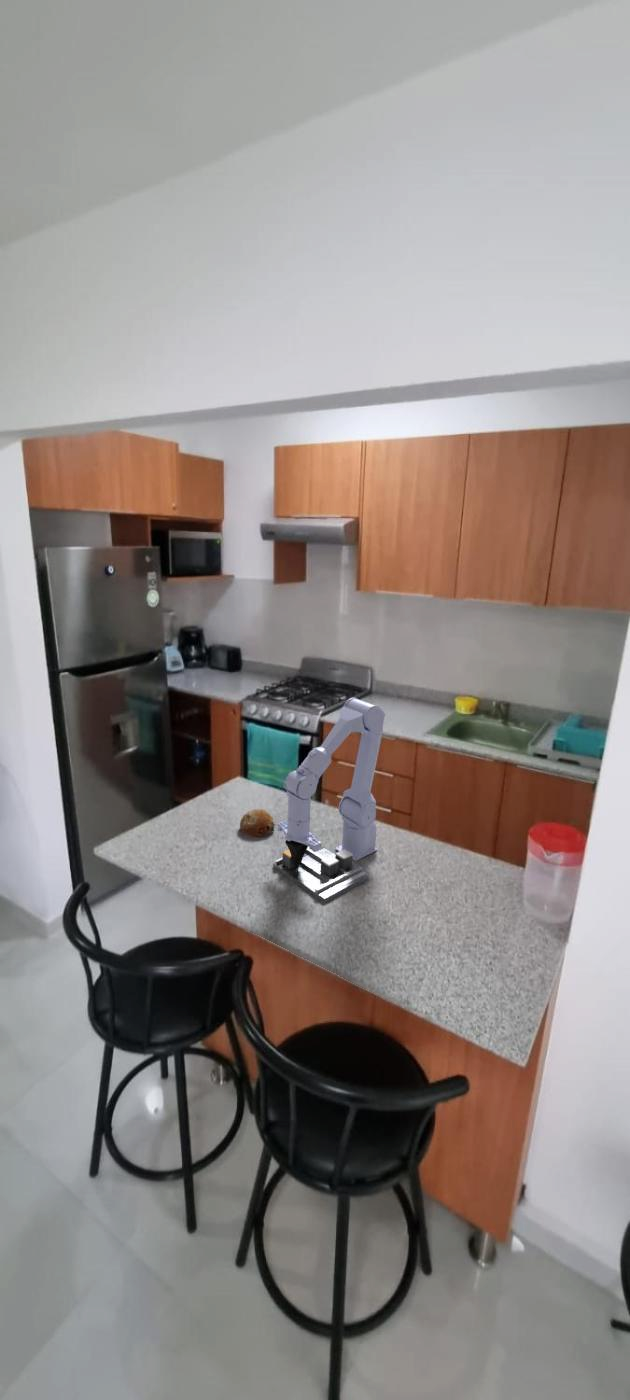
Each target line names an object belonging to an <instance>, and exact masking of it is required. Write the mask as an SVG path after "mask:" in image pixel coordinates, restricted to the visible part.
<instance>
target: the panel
mask: <svg viewBox="0 0 630 1400" xmlns="http://www.w3.org/2000/svg"><path fill="white" fill-rule="evenodd" d="M319 842H320V850H318V851H316V852H313V851H312V849H311V848H310V847H308V848H307V849H306V851H305V853H304V856H303V859H302V862H301V864H300V865H298V866H295V867H293V868H291V869H289V868H287V867H286V866H285V865H283V864H282V862H283V856H282V857H280V858H278V859H275V860H274V862H272V867H273V868H274V869H275V870H277V871H278V872H279V873H281V874H282V875H283V876H285V877H287V878H288V879H290V880H291V882H294V883H295V884H297V886H299V887H301V888H302V889H303V890H305V891H306V892H308V893H309V894H311V895H312V896H313V897H315V898H316V899H318V900H319V901H320V902H322V903H323V904H325V903H327V902H329V901H330V900H332V899H335V898H336V897H339V896H340V895H342V894H344V893H346V892H347V891H348V892H349V890H351V889H353V888H355V887H357V886H359V885H360V884H362V883H365V882H366V881H368V880H369V879H370V874H368V873H367V872H365V871H364V870H363V867H362V866H361V865H359V866H355V865H354V864H352V866H351V867H349V868H347V869H345V870H344V869H342V868H340V867H339V866H338V873H337V874H335V875H333V876H331V877H328V876H327V875H325V874H324V873H322V872H321V860H322V859H325V858H327V857H329V856H332V857H334V858H335V857H336V853H334V852H332V851H330V850H329V849H327V848H325V847H324V846H322V842H321V841H319Z"/></svg>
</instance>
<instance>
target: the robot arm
mask: <svg viewBox="0 0 630 1400" xmlns="http://www.w3.org/2000/svg"><path fill="white" fill-rule="evenodd" d="M385 716H386V713H385V711H384V710H383V708H381V707H380V706H379V705H375V704H372V703H369V702H366V701H364V700H361V699H358V698H357V697H351V698H349V699H347V700H346V702H344V704H343V706H342V707H341V708H340V710H339V718H338V720H336V722H335V724H334V725H333V727H332V729H331V731H329V733H328V735H327V736H326V738H325V739H324V741H323V742H322V743H321V745H320V746H318V747H314V748H312V749H311V750H310V751H309V752H308V754H307V757H305V758H304V760H303V762H301V764H300V765H299V766H298V767H297V769H296V770H293V771H290V772H289V773H288V774H287V776H286V778H285V781H284V782H283V787H284V789H285V790H286V791H287V792H286V795H287V822H286V821H285V820H284V821H281V822H278V823H277V830H278V831H279V832H283V833H284V840H285V844H286V847H287V848H288V850H290V853H291V857H292V861H293V865H294V866H297V865H300V864H301V862H302V859H303V856H304V853H305V851H306V849H307V848H308V847H310V848H311V849H312V851H313V852H316V851H318V850H320V842H321V841H318V840H317V838H316V837H315V836H314V835H313V834H312V832H311V827H310V826H311V804H312V796H313V795H314V794H315V793H316V791H317V788H318V787H317V786H318V783H319V780H320V778H321V776H322V775H323V774H324V772H325V771H326V770H327V769H328V767H329V766H330V765H331V763H332V755H333V753H335V751H336V750H337V749H338V747H340V746H341V744H342V743H343V742H344V741H346V739H347V738H348V736H349V735H351V734H352V733H359V732H360V733H361V735H360V739H359V740H360V741H359V744H358V745H359V746H358V751H357V757H356V761H355V764H354V765H355V766H354V771H353V775H352V781H351V786H350V788H348V789H346V790H344V791H343V794H342V798H341V800H340V802H339V803H338V806H337V807H338V809H337V810H338V813H339V814H340V815H341V820H343V821H342V822H343V824H342V839H341V841H342V842H341V844H340V845H339V846H336V847H335V848H334V849H335V850H336V851H338V852H340V851H342V850H344V849H345V850H347V851H349V852H351V853H352V854H353V859H352V861H354V862H356V861H358V860H360V859H362V858H364V857H366V856H368V855H370V854H373V853H374V852H377V851H378V847H376V841H377V840H376V839H377V825H376V823H375V821H376V817H377V810H376V805H377V801H376V799H375V797H374V795H373V794H372V792H371V791H372V786H373V781H374V776H375V770H376V766H377V762H378V756H379V751H380V746H381V743H382V736H383V731H384V727H383V726H384V720H385Z"/></svg>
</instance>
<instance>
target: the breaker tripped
mask: <svg viewBox="0 0 630 1400" xmlns="http://www.w3.org/2000/svg"><path fill="white" fill-rule="evenodd" d="M282 857H283V862H282V864H283V865H285V866H286V867H287V868H289V869H291V868H293V867H295V866H294V865H293V861H292V857H291V853H290V850H289V849H286V850H284V851H282ZM297 866H298V865H297Z"/></svg>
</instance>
